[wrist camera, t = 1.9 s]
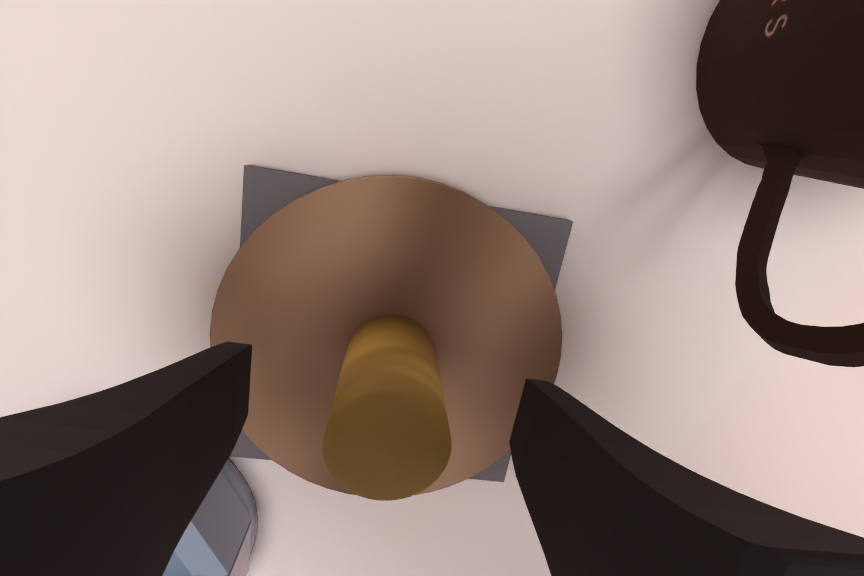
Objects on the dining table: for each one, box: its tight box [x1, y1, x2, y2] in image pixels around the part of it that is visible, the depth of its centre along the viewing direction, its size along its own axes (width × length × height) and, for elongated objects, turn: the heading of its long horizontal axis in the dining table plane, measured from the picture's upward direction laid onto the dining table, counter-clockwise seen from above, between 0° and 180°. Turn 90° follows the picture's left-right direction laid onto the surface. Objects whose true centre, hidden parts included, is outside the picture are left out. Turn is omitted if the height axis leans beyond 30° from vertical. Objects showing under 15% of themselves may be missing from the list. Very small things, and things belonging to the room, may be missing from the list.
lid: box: [210, 175, 562, 500], centre depth 12 cm, size 11×11×5 cm
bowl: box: [163, 459, 257, 576], centre depth 15 cm, size 9×9×3 cm
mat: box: [230, 165, 573, 482], centre depth 15 cm, size 10×10×1 cm
